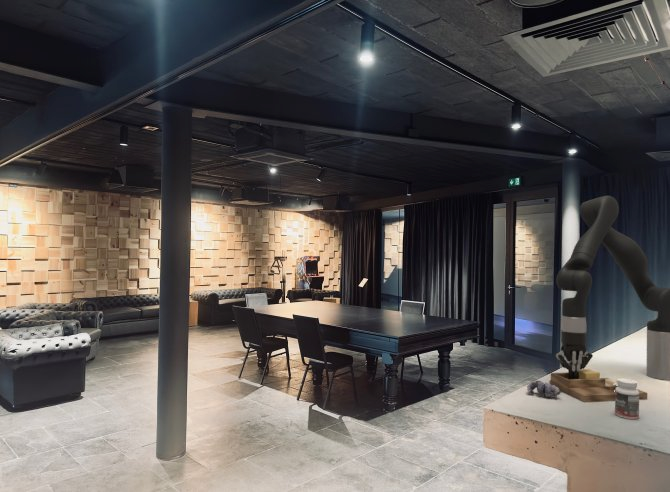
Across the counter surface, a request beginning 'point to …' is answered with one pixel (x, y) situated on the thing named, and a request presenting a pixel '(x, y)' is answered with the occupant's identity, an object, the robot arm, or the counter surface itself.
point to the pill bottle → (627, 399)
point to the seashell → (543, 389)
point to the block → (588, 374)
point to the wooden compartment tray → (595, 392)
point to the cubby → (576, 381)
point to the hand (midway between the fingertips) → (573, 381)
